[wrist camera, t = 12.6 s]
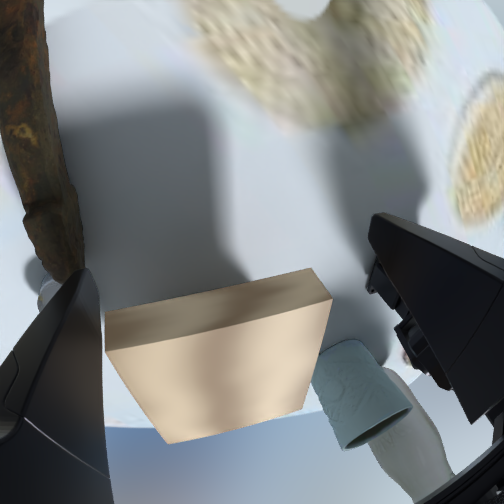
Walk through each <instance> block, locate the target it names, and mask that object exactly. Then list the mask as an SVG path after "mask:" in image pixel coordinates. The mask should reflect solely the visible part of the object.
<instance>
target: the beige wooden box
mask: <svg viewBox="0 0 504 504" xmlns="http://www.w3.org/2000/svg"><path fill="white" fill-rule="evenodd" d="M332 301H333V298H332V297H331V295H330V294H329V292H328V291H327V289H326V288H325V287H324V285H323V284H322V282H321V281H320V280H319V278H318V277H317V275H316V274H315V273H314V271H313V270H312V268H307V269H303V270H299V271H295V272H290V273H286V274H282V275H277V276H273V277H269V278H264V279H260V280H255V281H251V282H247V283H242V284H238V285H233V286H229V287H224V288H219V289H215V290H210V291H205V292H201V293H196V294H191V295H187V296H182V297H177V298H172V299H167V300H162V301H158V302H153V303H148V304H143V305H138V306H133V307H128V308H122V309H117V310H112V311H107V312H105V353H106V355H107V356H108V358H109V360H110V361H111V363H112V365H113V366H114V368H115V370H116V371H117V373H118V374H119V376H120V378H121V379H122V381H123V382H124V384H125V385H126V387H127V388H128V390H129V391H130V393H131V394H132V396H133V397H134V399H135V400H136V402H137V403H138V405H139V406H140V408H141V409H142V410H143V412H144V413H145V415H146V416H147V417H148V419H149V420H150V422H151V423H152V424H153V426H154V427H155V428H156V430H157V431H158V432H159V433H160V435H161V436H162V437H163V438H164V440H165V441H166V442H167V444H172V443H177V442H183V441H188V440H193V439H197V438H202V437H207V436H211V435H215V434H219V433H223V432H227V431H231V430H235V429H239V428H242V427H246V426H250V425H253V424H257V423H260V422H263V421H267V420H270V419H273V418H277V417H280V416H283V415H286V414H289V413H292V412H295V411H298V410H301V409H302V407H303V404H304V401H305V398H306V395H307V391H308V388H309V385H310V382H311V378H312V375H313V372H314V368H315V365H316V361H317V358H318V354H319V351H320V347H321V344H322V340H323V336H324V333H325V329H326V325H327V321H328V317H329V313H330V309H331V305H332Z"/></svg>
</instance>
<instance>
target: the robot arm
mask: <svg viewBox="0 0 504 504" xmlns="http://www.w3.org/2000/svg"><path fill="white" fill-rule="evenodd" d="M368 240H369V242H370V244H371V246H372V248H373V250H374V251H375V253H376V255H377V259H376V262H375V266H374V269H373V272H372V276H371V279H370V282H369V285H368V288H367V291H368V293H369V294H373V293H376V292H378V294H379V295H380V296H381V297H382V298H383V300H384V301H385V302H386V303H387V305H388V306H389V307H390V308H391V309H392V310H394V309H395V310H396V312H397V313H398V314H399V315H400V317H401V318H402V319H403V320H402V321H401V322H400V323H399V324H397V325H396V326H395V327H394V330H395V332H396V333H397V337H398V339H399V341H400V342H401V344H402V346H403V348H404V350H405V351H406V353H407V355H408V357H409V359H410V361H411V364H412V367H413V368H414V369H419V370H421V371H422V372H423V373H424V374H426V375H428V376H432V377H433V379H434V380H435V382H436V383H437V385H438V386H439V387H440V388H442V389H445V390H448V391H450V390H453V391H454V392H455V394H456V396H457V398H458V399H459V402H460V404H461V406H462V408H463V410H464V412H465V414H466V416H467V418H468V421H469V422H470V424H471V425H472V424H473V423H475V422H476V421H477V420H478V419H479V418H481V417H482V416H483V415H484V414H485V415H486V417H487V418H488V420H489V421H490V422H491V424H492V425H493V427H494V432H493V441H492V446H491V447H490V448H489V449H487V450H486V451H485V452H484V453H483V454H482V455H481V456H480V457H478V458H477V459H476V460H475V461H474V462H472V463H471V464H470V465H469V466H467V467H466V468H465V469H464V470H463V471H461V472H460V473H458V474H457V475H456V476H454V477H453V478H452V479H450V480H449V481H448V482H446V483H445V484H444V485H442V486H441V487H439V488H438V489H436V490H435V491H434V492H432V493H431V494H429V495H428V496H426V497H425V498H423V499H421V500H420V501H418V502H417V503H415V504H504V259H503V258H501V257H498V256H496V255H493V254H491V253H488V252H486V251H483V250H481V249H479V248H476V247H474V246H471V245H469V244H467V243H464V242H462V241H459V240H457V239H454V238H452V237H449V236H447V235H444V234H442V233H439V232H436V231H434V230H431V229H429V228H426V227H423V226H421V225H418V224H415V223H412V222H410V221H407V220H404V219H401V218H399V217H396V216H393V215H390V214H387V213H383V212H382V213H376V214H374V215H373V216H372V218H371V222H370V227H369V232H368ZM109 478H110V475H109V467H108V459H107V450H106V440H105V427H104V411H103V386H102V332H101V319H100V304H99V293H98V289H97V287H96V285H95V282H94V280H93V277H92V275H91V272H90V271H89V269H88V268H83V269H78V270H75V271H74V272H73V273H72V274H71V275H70V277H69V278H68V279H67V280H66V281H65V282H64V284H63V285H62V286H61V287H60V288H59V290H58V291H57V292H56V293H55V294H54V296H53V297H52V298H51V299H50V300H49V302H48V303H47V304H46V305H45V307H44V308H43V309H42V310H41V312H40V313H39V314H38V316H37V317H36V318H35V319H34V321H33V322H32V323H31V325H30V326H29V327H28V329H27V330H26V331H25V333H24V334H23V335H22V337H21V338H20V339H19V341H18V342H17V343H16V345H15V346H14V348H13V351H11V352H10V353H9V355H8V356H7V358H6V359H5V360H4V362H3V363H2V365H1V366H0V504H114V501H113V494H112V488H111V481H110V479H109Z"/></svg>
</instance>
